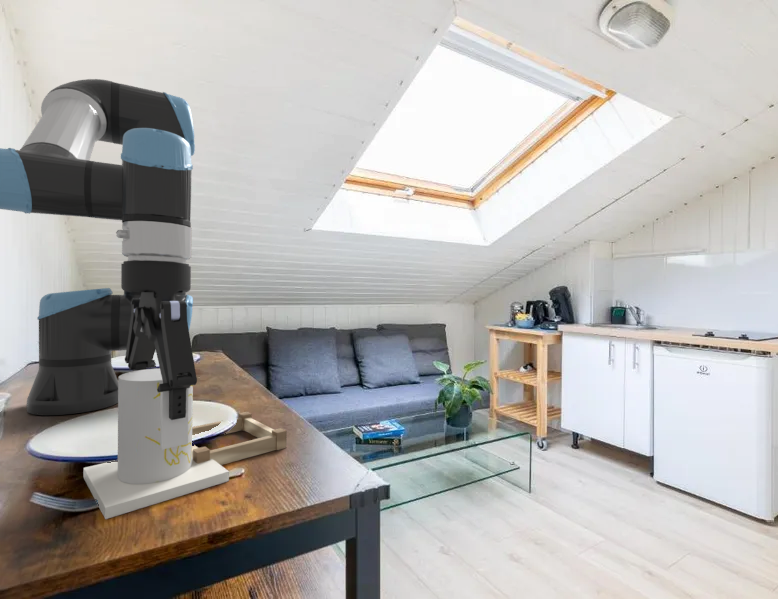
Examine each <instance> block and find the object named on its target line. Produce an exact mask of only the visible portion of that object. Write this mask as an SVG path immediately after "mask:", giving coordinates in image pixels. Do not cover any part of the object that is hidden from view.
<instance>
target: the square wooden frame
mask: <svg viewBox="0 0 778 599" xmlns="http://www.w3.org/2000/svg"><path fill="white" fill-rule="evenodd" d="M237 418H238V419H237V423H236V425H235V426H234V427H233V428H232V429H231V430H230V431H229V432H227V433H226V434H225V435H227V434H228V435H229V434H231V433H232V434H233V433H236V432H240V431H242V432H243V431H244V432H246V433H248V434H250V435H251V436H253V437H255V438H253V439H252V440H251V439H250V440H247V441H243V442H242V441H241V442H239V443H234V444H230V445H226V446H223V447H219V448H215V449H210V448H208V447H207V446H201V447H198V446H196V445H195V444H194V446H192V457H193V460H194V461H195V462H196V463H197V464H198V463H202V462H205V461H209V460H210V459H213V460H215V461H216V462H217V463H219V464H220V465H221V466H223V465H226V464H230V463H234V462H238V461H241V460H244V459H247V458H252V457H255V456H258V455H262V454H265V453H266V454H267V453H269V452H272V451H280V450H284V449H286V448H287V435H288V434H287V433H288V431H287V430H286V429H284V428H281V427H280V428H276V429H274V428H272V427H270V426H268V425H266V424H263V423H261V422H260V421H258V420H255V419H254V418H253V416H252V412H249V411H244V412H238V417H237ZM221 421H222V420H219V421H214V422H210V423H205V424H200V425H195V426H192V435H195V434H199V433H201V432H205V431H209V430H211V429H212V428H214V427H216V426H218V425H219V424H220V423H221Z"/></svg>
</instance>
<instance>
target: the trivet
mask: <svg viewBox="0 0 778 599" xmlns="http://www.w3.org/2000/svg"><path fill="white" fill-rule="evenodd" d="M110 462H111V461H110ZM82 468H83V472H82V473H83V480H84V481H85V484H86V485H87V487H88V489H89V490H90V493H91V495H92V496H93V500H95V499H97V500H98V504H99V506H98V508H99V510H100V512H101V513H102V515H103V517H104V519H105V520H108V519H110V518H114V517H118V516H120V515H124V514H127V513H129V512H133V511H136V510H140V509H143V508H146V507H150V506H152V505H156V504H159V503H162V502H165V501H168V500H169V501H170V500H172V499H175V498H179V497H182V496H184V495H188V494H191V493H195V492H198V491H201V490H204V489H207V488H210V487H214V486H216V485H221V484H224V483H227V482H229V481H230V471H229V470H228V469H227V468H225V467H224V466H223V465H220V464H219V463H217V462H216V461H215V460H213V459H210V460H209V461H205V462H202V463H198V464H197V463H196V462H195V461H194V460H193V457H192V466H191V468H190V469H189V470H188V471H186V472H185V473H183V474H181V475H179V476H177V477H175V478H172V479H169V480H165V481H161V482H156V483H149V484H129V483H125V482H122V481H120V480H119V479H118V462H111V463H107V462H104V463H98V464H94V465H90V466H85V467H82ZM98 504H97V505H98Z"/></svg>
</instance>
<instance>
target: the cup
mask: <svg viewBox="0 0 778 599" xmlns="http://www.w3.org/2000/svg"><path fill="white" fill-rule="evenodd" d="M131 371H132V372H130V371H129V372H125V373H122V374H120V375H119V376H118V378H117V380H118V403H117V409H118V410H117V460H118V479H119V480H120V481H122V482H125V483H129V484H149V483H156V482H161V481H165V480H169V479H172V478H175V477H177V476H179V475H181V474H183V473H185V472H186V471H188V470H189V469H190V468H191V466H192V443H193V442H192V427H193V415H194V414H193V410H194V409H193V403H194V400H193V398H194V395H193V393H194V385H191V386H190V388H188V444H184V445H180V446H175V447H171V448H167V449H163V450H162V449H161V448H160V394H161V392H158V391H157V389H158V386H159V384H163V380H162V375H161V371H160V367H159V368H157V367H156V368H147V369H146V370H138V371H133V370H131Z"/></svg>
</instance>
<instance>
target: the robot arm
mask: <svg viewBox="0 0 778 599" xmlns="http://www.w3.org/2000/svg"><path fill="white" fill-rule="evenodd" d="M40 113H41V117H40V119H39V120H38V122H37V124H36V125H35V127H34V128H33V129H32V131H31V133H30V134H29V136H28V137H27V138H26V140H25V141H24V143H23V145H22V147H21V148H20V149H19V150H18V149H15V148H11V147H8V148H0V210H4V211H5V210H6V211H11V212H12V211H13V212H20V213H24V214H40V215H41V214H43V215H56V216H69V217H70V216H71V217H82V218H94V219H101V220H113V221H114V220H115V221H121V223H122V225H121V226H122V227H121V229H117V231H116V232H115V234H116V237H117V238H118V239H122V241H121V255H123V256H124V257H126V258H127V260H124V261H123V262H122V263H120V264H121V271H120V272H121V273H120V274H121V276H120V277H121V278H120V279H121V282H120V285H121V286H120V287H121V289H122V291H123V294H113V291H112V289H111V287H105V288H95V289H94V288H93V289H83V290H73V291H71V290H70V291H62V292H51V293H47V294H44V295H43V296H42V297H41V299H39V307H38V308H39V309H38V316H37V320H38V371H37V374H36V375H35V376H36V377H34V378H35V379H34V380H33V383H32V386H31V389H30V391H29V393H28V396H27V399H26V412H27V413H29V414H32V415H37V416H38V415H39V416H59V415H60V416H62V415H63V416H64V415H72V414H81V413H82V414H83V413H87V412H88V413H89V412H93V411H96V410H98V411H99V410H101V409H106V408H109V407H112V406H115V405H116V404H117V405H118V378H117V375H116V373H115V370H114V368H113V365H112V352H117V351H125V357H124V361H125V363H126V364H127V368H128V370H129V372H132V371H138V370H146V369H155V368H157V364H156V361H155V359H154V356H155V352H156V357H157V361H158V366H159V368H160V371H161V375H162V380H163V384H159V386H158V389H157V391H158V392H161V394H160V448H161V449H162V450H163V449H167V448H171V447H175V446H180V445H184V444H188V388H190V386H191V385H193V386H196V385H197V382H198V379H197V373H196V367H195V360H194V354H193V349H192V348H193V347H192V342H191V341H192V340H191V335H190V328H191V323H192V317H193V307H194V306H193V305H194V298H193V296H192V295H189V294H186V293H188V292H190V291H191V282H192V281H191V279H192V277H191V273H192V269H191V268H192V267H191V266H190V264H189V263H187V260H190V259H191V258H192V233H193V232H192V231H193V230H192V227H191V226H192V224H191V223H192V222H191V210H192V209H191V208H192V207H191V206H192V170H193V169H194V168H193V167H194V166H193V165H194V164H192V163H193V162H192V156H194V154H195V151H196V150H195V148H196V146H195V127H194V121H193V120H194V119H193V115H192V110H191V107H190V104H189V103H188V102H187V100H185V99H184V98H183V97H180V96H176V95H174V94H173V95H172V94H168V93H167V92H164V91H162V92H160V91H155V90H152V89H146V88H141V87H137V86H133V85H128V84H124V83H119V82H114V81H111V80H107V79H98V78H88V79H79V80H73V81H69V82H66V83H63V84H60V85H58V86H55V87H54V88H52V89H51V90H50V91H49V92H48V93H47V94H46V95H45V96H44V98H43V100H42V102H41V106H40ZM97 141H98V142H104V143H105V142H106V143H109V144H111V143H112V144H115V145H121V147H122V148H121V153H120V159H121V164H116V163H110V162H109V163H108V162H102V161H95V160H90V159H91V156H92V154H93V151H94V146H95V143H96V142H97Z"/></svg>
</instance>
